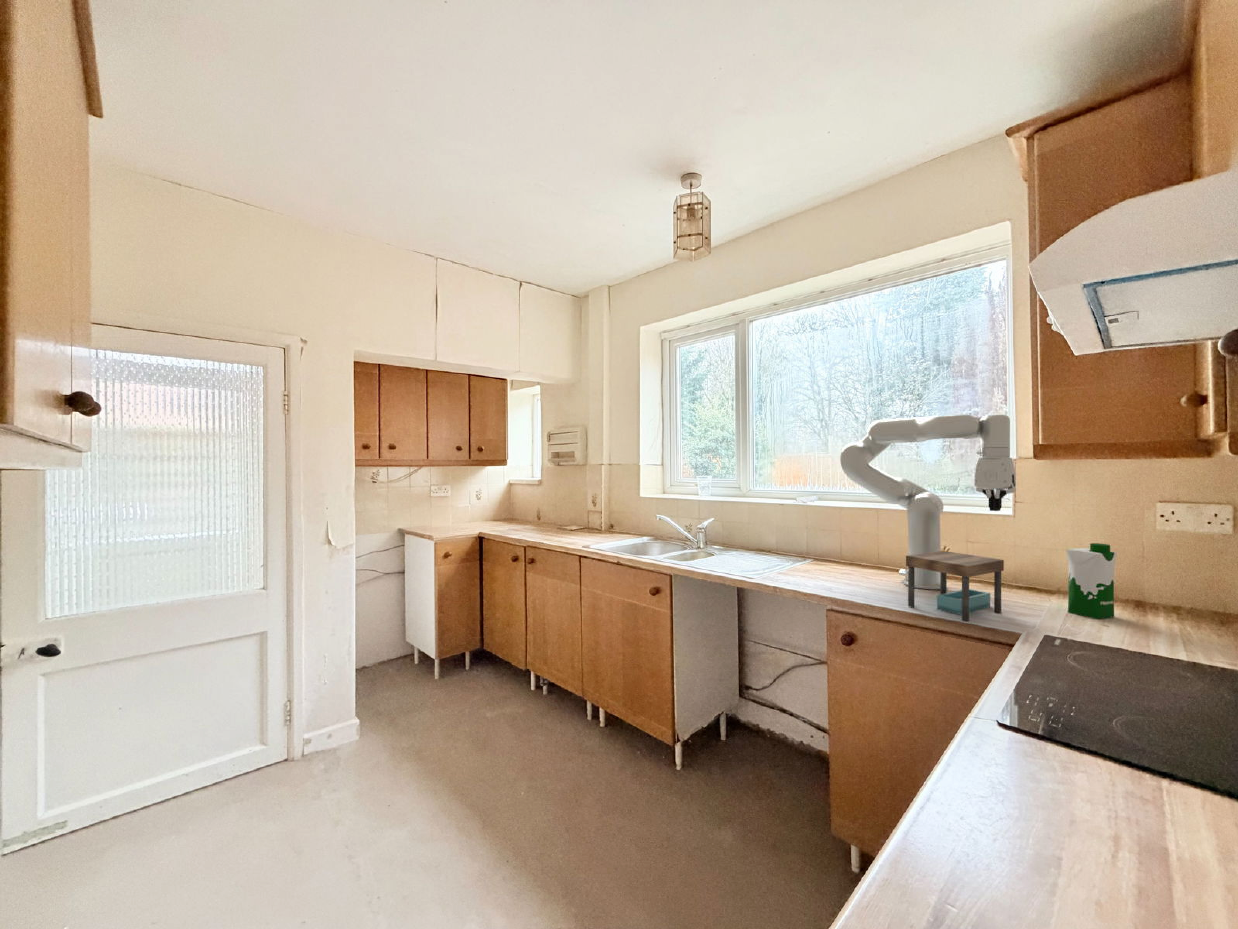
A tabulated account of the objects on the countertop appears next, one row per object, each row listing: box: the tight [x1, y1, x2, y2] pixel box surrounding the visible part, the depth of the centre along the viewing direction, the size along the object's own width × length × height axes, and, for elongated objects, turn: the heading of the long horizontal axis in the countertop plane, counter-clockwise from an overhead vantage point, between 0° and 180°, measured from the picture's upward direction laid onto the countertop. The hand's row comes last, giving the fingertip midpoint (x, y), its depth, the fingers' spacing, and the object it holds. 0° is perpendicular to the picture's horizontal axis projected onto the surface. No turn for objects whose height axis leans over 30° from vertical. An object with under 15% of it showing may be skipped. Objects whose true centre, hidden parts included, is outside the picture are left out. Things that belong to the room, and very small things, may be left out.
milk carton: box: [1065, 542, 1118, 620], centre depth 142 cm, size 9×9×20 cm
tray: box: [936, 588, 991, 616], centre depth 149 cm, size 6×16×4 cm, turn 119°
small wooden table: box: [905, 550, 1005, 623], centre depth 147 cm, size 17×18×15 cm
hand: (995, 510), depth 164 cm, fingers closed
